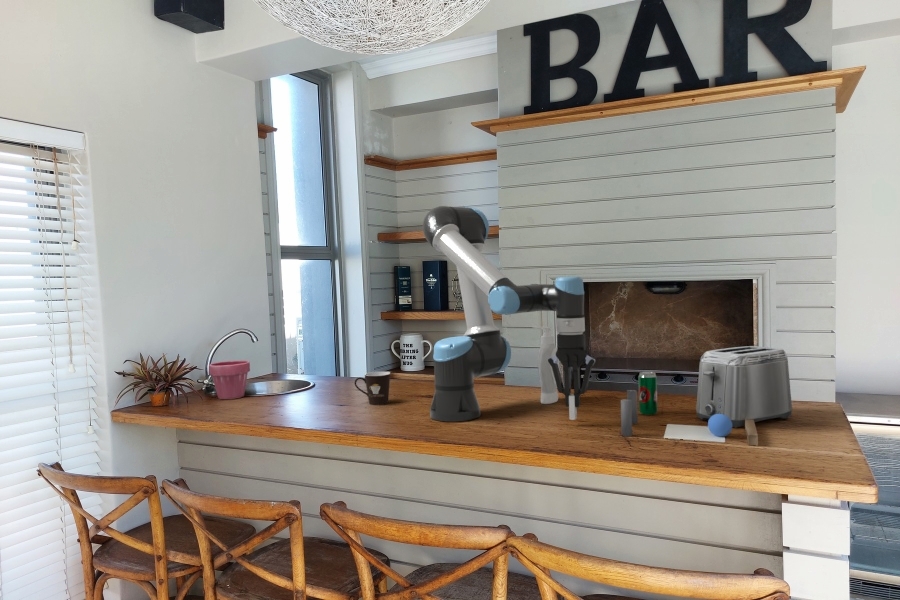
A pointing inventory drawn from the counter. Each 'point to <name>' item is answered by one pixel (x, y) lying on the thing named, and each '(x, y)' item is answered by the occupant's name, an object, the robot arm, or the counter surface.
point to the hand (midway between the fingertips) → (573, 418)
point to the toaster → (744, 384)
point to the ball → (720, 425)
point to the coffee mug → (376, 387)
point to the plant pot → (230, 378)
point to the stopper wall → (751, 432)
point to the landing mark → (691, 433)
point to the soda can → (647, 393)
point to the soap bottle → (547, 367)
